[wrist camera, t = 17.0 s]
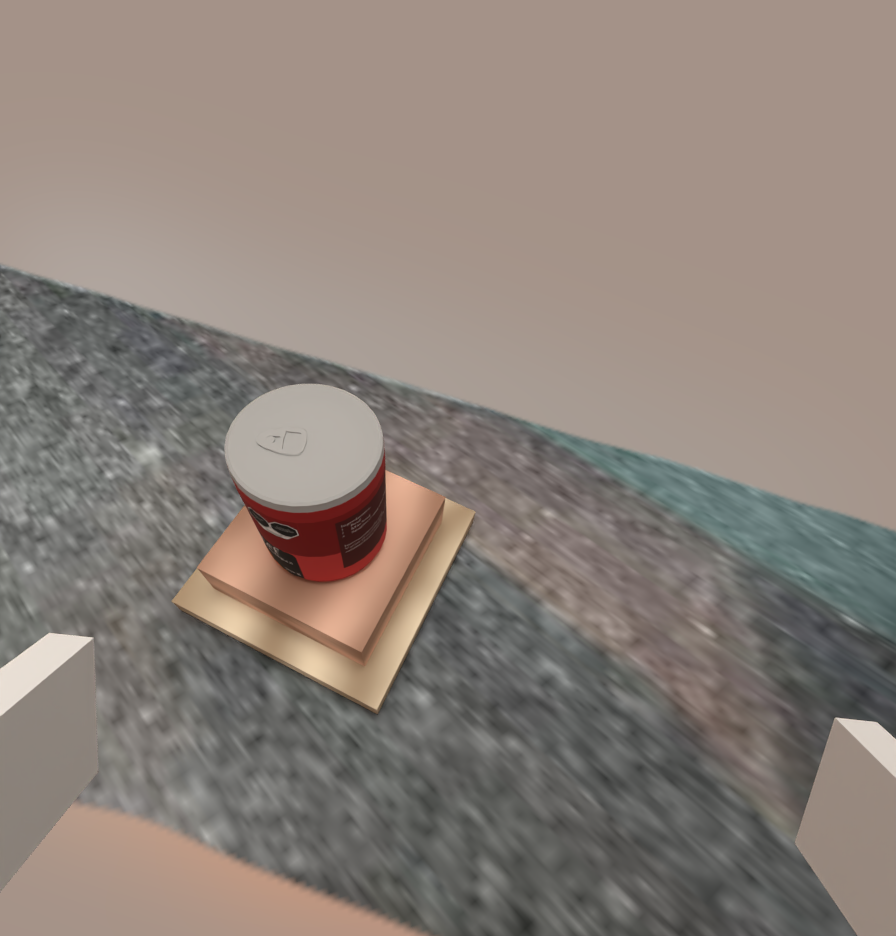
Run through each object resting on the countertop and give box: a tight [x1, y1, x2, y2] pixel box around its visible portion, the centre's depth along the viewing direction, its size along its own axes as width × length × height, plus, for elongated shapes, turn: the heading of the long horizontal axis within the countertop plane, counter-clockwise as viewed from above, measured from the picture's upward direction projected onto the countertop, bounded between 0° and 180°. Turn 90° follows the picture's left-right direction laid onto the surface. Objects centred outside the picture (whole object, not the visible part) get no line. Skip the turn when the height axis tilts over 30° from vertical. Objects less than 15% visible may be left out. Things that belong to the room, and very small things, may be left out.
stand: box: [172, 470, 475, 714], centre depth 40 cm, size 16×16×6 cm
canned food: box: [225, 384, 387, 582], centre depth 33 cm, size 8×8×11 cm
